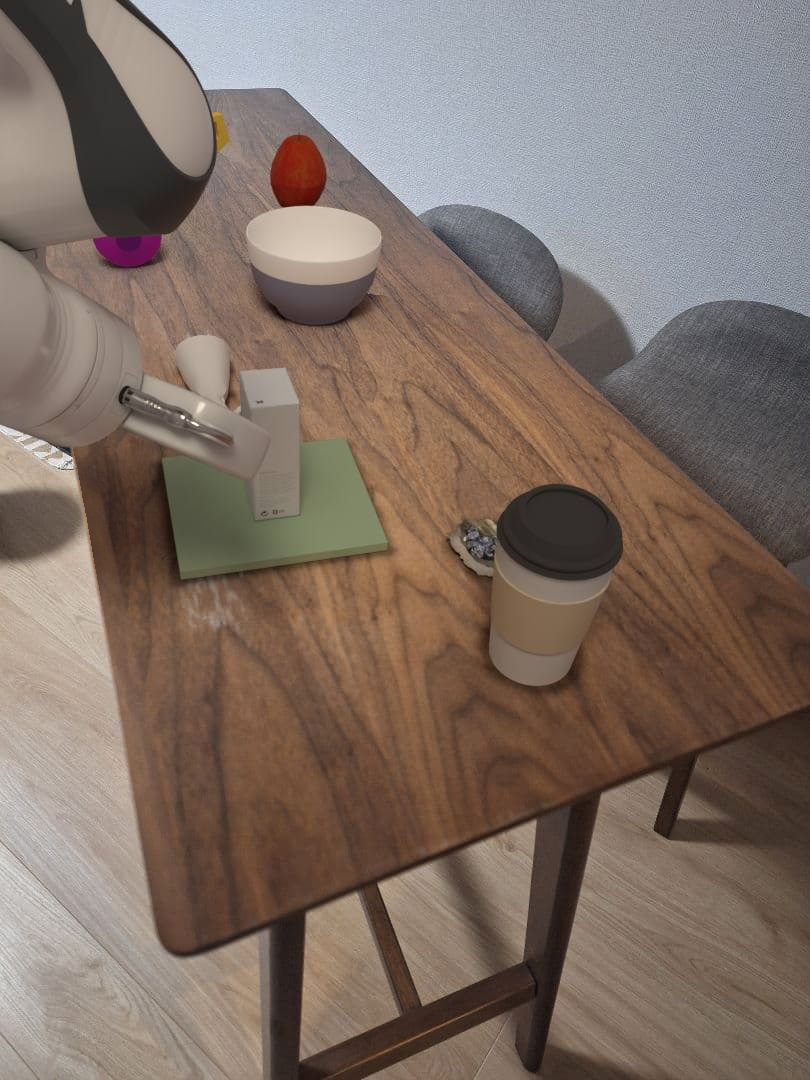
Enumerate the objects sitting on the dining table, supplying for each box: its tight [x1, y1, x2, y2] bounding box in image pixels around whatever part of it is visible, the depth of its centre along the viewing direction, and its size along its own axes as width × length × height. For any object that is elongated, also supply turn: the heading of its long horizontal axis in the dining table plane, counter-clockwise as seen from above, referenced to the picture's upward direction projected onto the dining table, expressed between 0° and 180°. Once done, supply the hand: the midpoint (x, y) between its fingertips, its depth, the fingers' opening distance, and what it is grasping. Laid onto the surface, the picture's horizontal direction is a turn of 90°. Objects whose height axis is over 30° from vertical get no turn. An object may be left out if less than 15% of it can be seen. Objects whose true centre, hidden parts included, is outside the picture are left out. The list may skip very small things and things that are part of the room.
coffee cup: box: [488, 483, 624, 687], centre depth 68 cm, size 9×9×15 cm
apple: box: [269, 132, 328, 208], centre depth 132 cm, size 8×8×11 cm
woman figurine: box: [172, 330, 241, 415], centre depth 95 cm, size 12×4×18 cm
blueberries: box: [445, 517, 498, 577], centre depth 81 cm, size 7×8×2 cm
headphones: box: [92, 235, 163, 268], centre depth 117 cm, size 21×9×20 cm, turn 19°
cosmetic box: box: [239, 366, 301, 521], centre depth 80 cm, size 6×4×12 cm
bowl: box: [245, 205, 383, 326], centre depth 110 cm, size 16×16×10 cm
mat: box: [161, 437, 389, 581], centre depth 84 cm, size 18×16×1 cm
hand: (182, 428), depth 67 cm, fingers open, 8 cm apart
